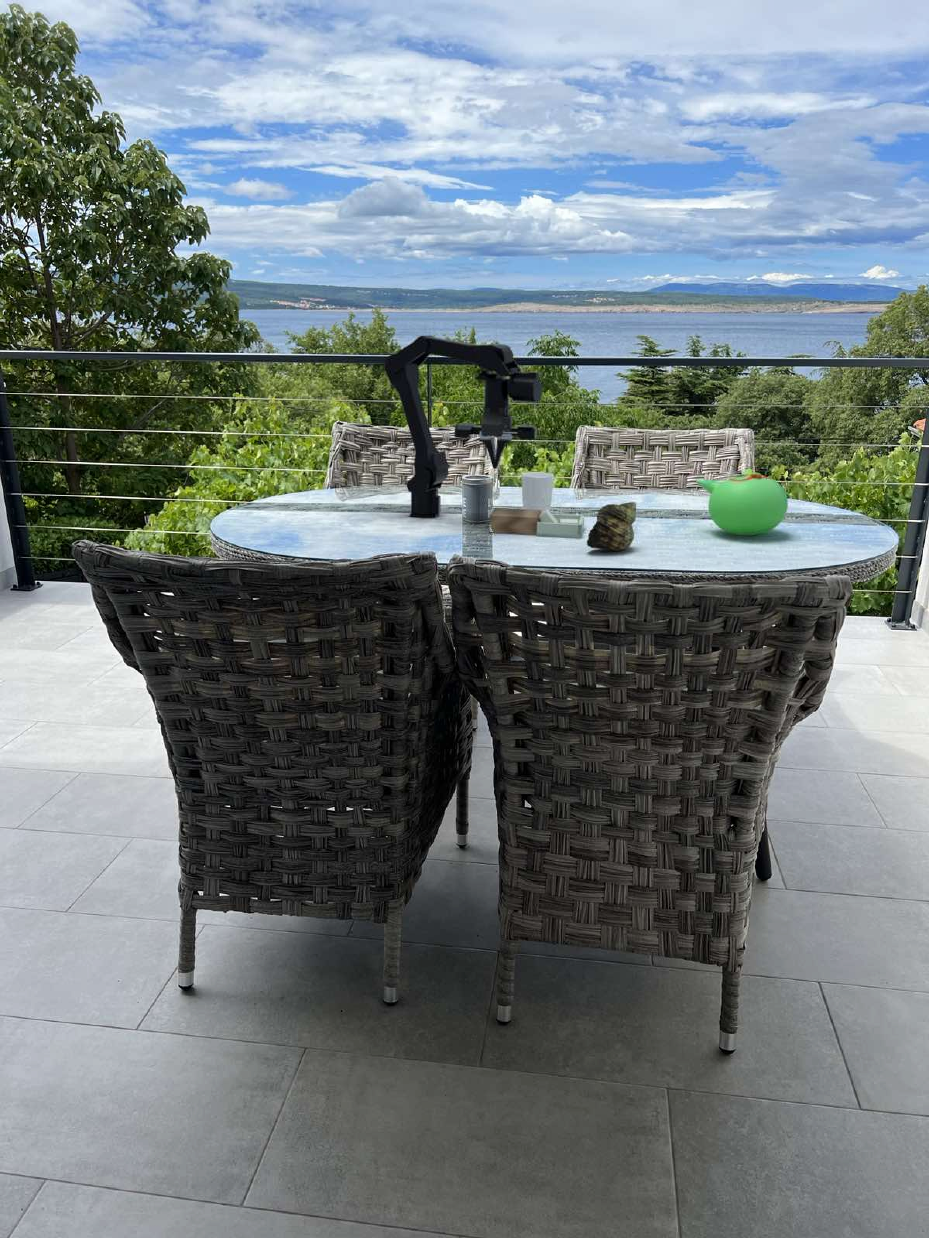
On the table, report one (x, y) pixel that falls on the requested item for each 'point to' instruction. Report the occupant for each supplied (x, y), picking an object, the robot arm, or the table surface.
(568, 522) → the tile
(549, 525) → the tray
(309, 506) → the table surface
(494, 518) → the tan cardboard slab
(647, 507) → the table surface
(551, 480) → the white cup
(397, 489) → the table surface
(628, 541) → the seashell
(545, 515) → the tile
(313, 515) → the table surface
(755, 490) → the green teapot
